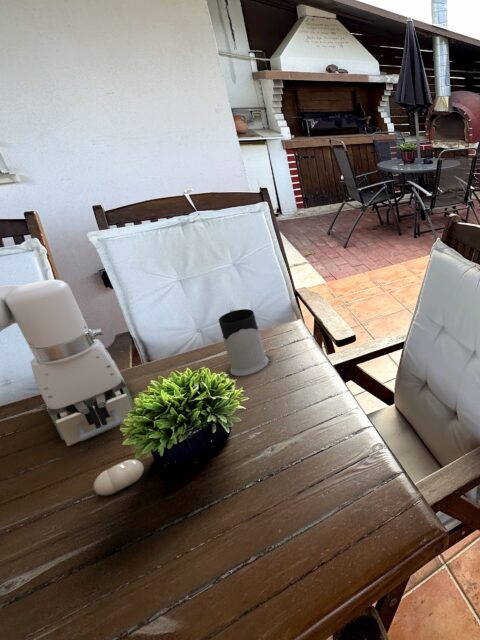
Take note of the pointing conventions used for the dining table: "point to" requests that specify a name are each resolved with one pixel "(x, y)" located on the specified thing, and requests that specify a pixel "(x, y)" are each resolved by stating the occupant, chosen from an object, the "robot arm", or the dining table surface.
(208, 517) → the dining table surface
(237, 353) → the glass holder
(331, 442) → the dining table surface
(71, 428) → the drawer
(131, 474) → the capsule
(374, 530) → the dining table surface
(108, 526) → the dining table surface
